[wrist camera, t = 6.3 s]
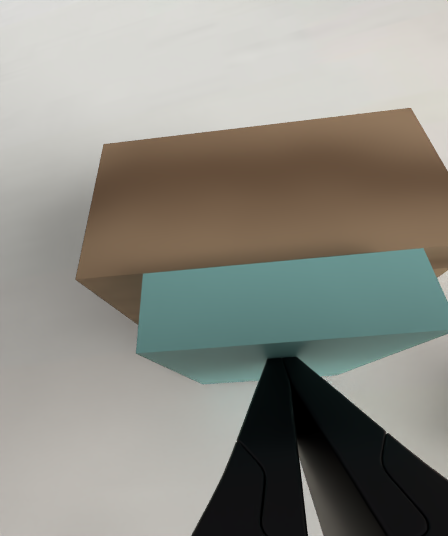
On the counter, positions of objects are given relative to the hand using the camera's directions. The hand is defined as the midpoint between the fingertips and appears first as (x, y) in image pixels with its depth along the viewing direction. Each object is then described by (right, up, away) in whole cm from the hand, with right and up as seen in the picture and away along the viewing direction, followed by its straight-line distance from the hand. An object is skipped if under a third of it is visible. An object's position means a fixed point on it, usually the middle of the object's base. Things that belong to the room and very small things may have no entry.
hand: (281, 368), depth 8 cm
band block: (0, +2, +9) cm, 9 cm away
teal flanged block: (0, +1, +8) cm, 8 cm away
